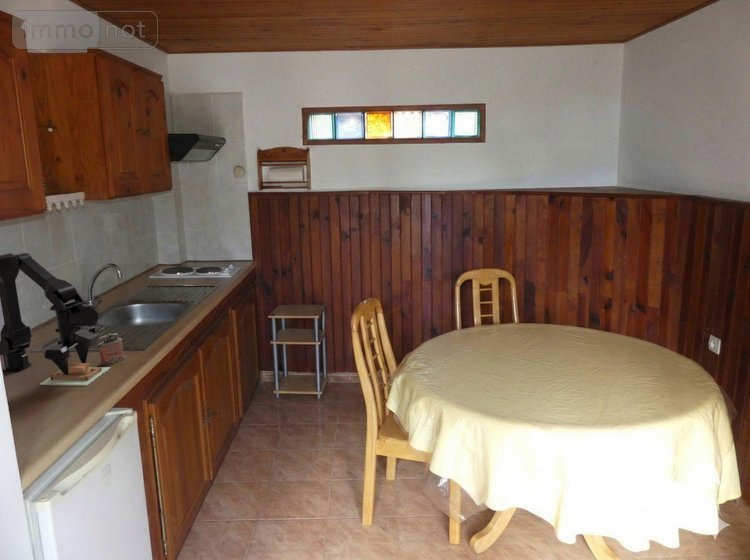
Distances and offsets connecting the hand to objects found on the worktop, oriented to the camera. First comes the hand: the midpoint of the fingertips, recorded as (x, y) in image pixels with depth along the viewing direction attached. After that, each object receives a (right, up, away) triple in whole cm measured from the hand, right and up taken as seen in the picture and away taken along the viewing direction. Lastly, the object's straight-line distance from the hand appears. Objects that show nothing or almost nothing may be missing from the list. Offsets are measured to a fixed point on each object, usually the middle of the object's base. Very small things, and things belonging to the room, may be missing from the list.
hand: (75, 369), depth 189 cm
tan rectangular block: (0, -2, +1) cm, 2 cm away
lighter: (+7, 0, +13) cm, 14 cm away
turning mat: (0, -3, +1) cm, 3 cm away
